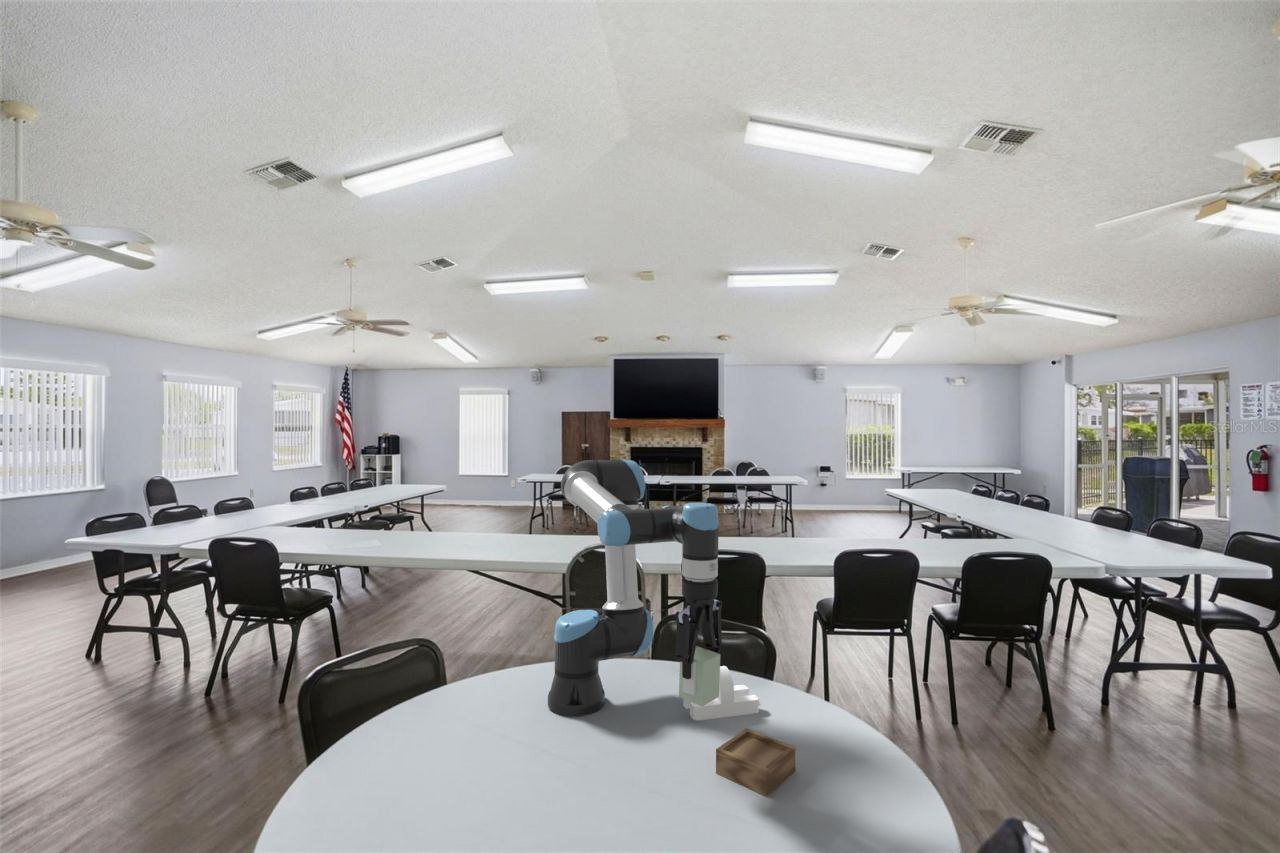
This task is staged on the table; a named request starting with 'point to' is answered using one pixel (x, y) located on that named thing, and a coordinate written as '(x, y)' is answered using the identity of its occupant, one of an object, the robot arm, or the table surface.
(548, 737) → the table surface
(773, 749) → the brown crate
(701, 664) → the green block
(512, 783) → the table surface
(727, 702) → the white slotted block
